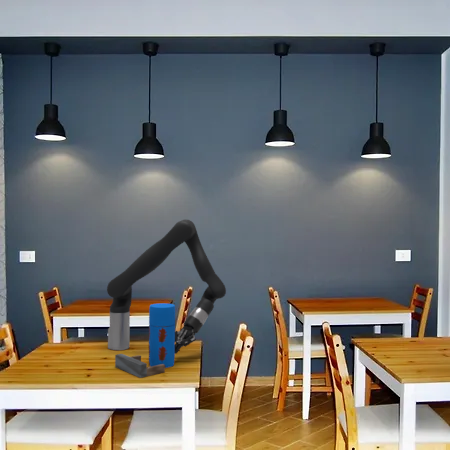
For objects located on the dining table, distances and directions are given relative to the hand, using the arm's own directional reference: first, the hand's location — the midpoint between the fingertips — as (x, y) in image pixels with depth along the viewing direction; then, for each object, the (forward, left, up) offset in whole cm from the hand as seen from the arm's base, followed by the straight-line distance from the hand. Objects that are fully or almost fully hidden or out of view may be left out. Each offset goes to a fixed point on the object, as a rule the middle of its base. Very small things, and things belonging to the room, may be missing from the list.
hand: (173, 352), depth 229 cm
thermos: (-4, -4, -5) cm, 7 cm away
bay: (-11, -13, -4) cm, 18 cm away
